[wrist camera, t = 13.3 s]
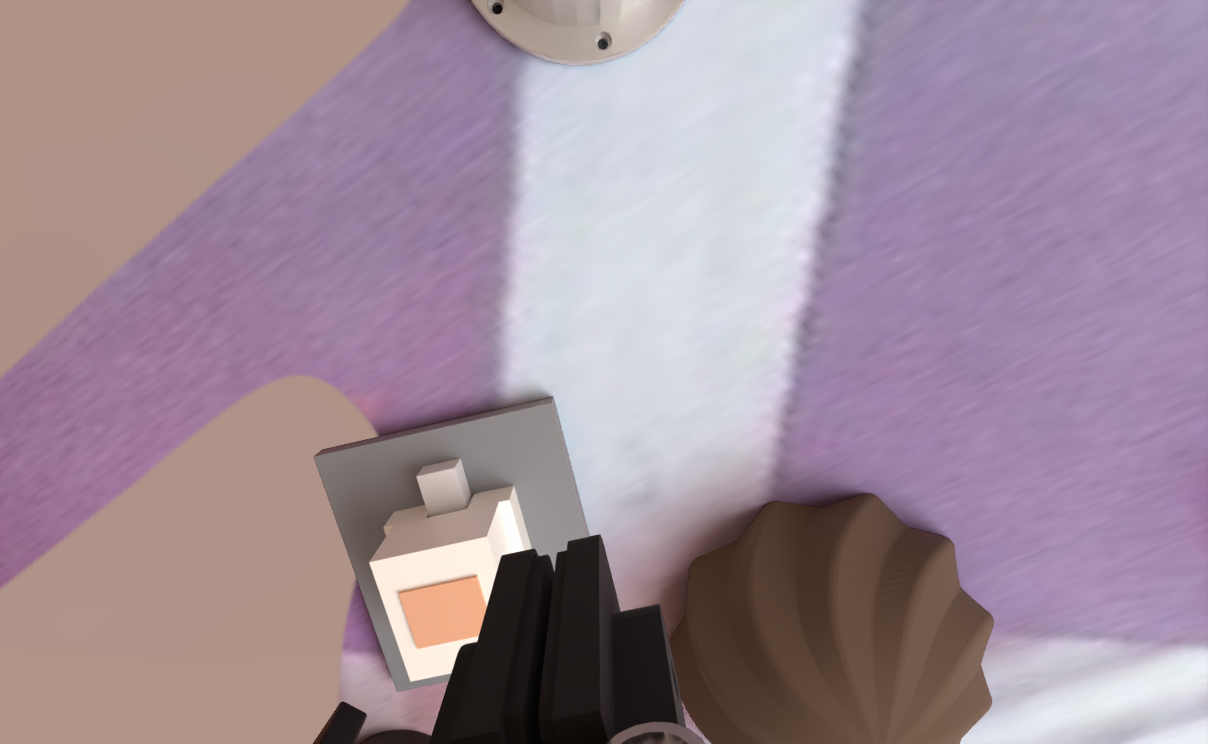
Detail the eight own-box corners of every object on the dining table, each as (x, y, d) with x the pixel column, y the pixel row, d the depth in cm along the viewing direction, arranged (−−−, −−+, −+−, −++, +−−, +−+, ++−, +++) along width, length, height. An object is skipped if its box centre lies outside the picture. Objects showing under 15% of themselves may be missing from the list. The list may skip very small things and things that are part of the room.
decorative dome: (724, 796, 45) (759, 957, 35) (626, 548, 40) (635, 653, 31) (1001, 710, 43) (1118, 853, 34) (930, 445, 39) (1041, 521, 29)
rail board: (322, 449, 38) (301, 466, 36) (553, 397, 38) (550, 410, 35) (402, 678, 42) (389, 709, 39) (614, 634, 41) (616, 662, 39)
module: (394, 511, 38) (355, 567, 32) (513, 485, 38) (498, 535, 32) (428, 615, 40) (398, 687, 34) (543, 590, 39) (533, 658, 33)
